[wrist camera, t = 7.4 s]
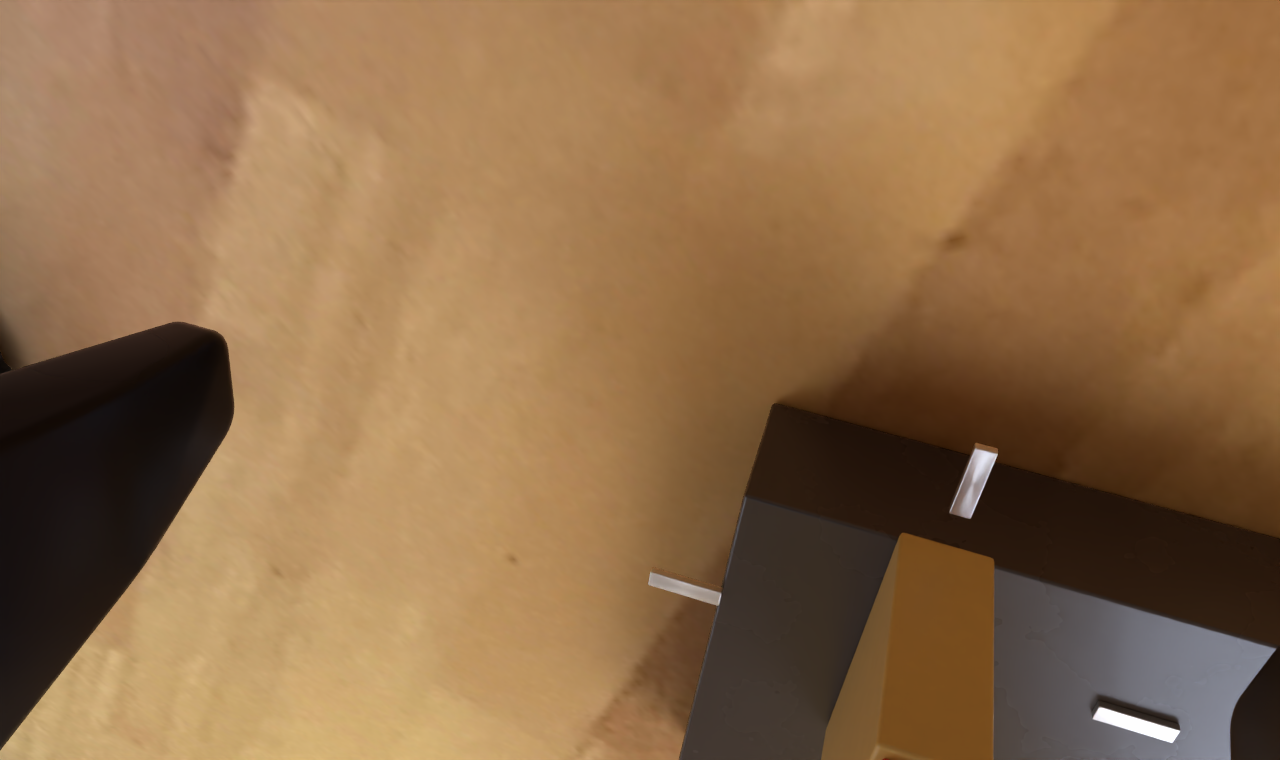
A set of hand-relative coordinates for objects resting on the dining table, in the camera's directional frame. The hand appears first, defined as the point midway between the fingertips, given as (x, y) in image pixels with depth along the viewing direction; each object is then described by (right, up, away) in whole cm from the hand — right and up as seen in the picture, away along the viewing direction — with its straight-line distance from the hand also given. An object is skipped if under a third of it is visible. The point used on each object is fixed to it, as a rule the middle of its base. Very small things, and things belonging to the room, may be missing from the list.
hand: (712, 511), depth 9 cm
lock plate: (+7, -4, +14) cm, 16 cm away
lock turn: (+4, -4, +11) cm, 12 cm away
